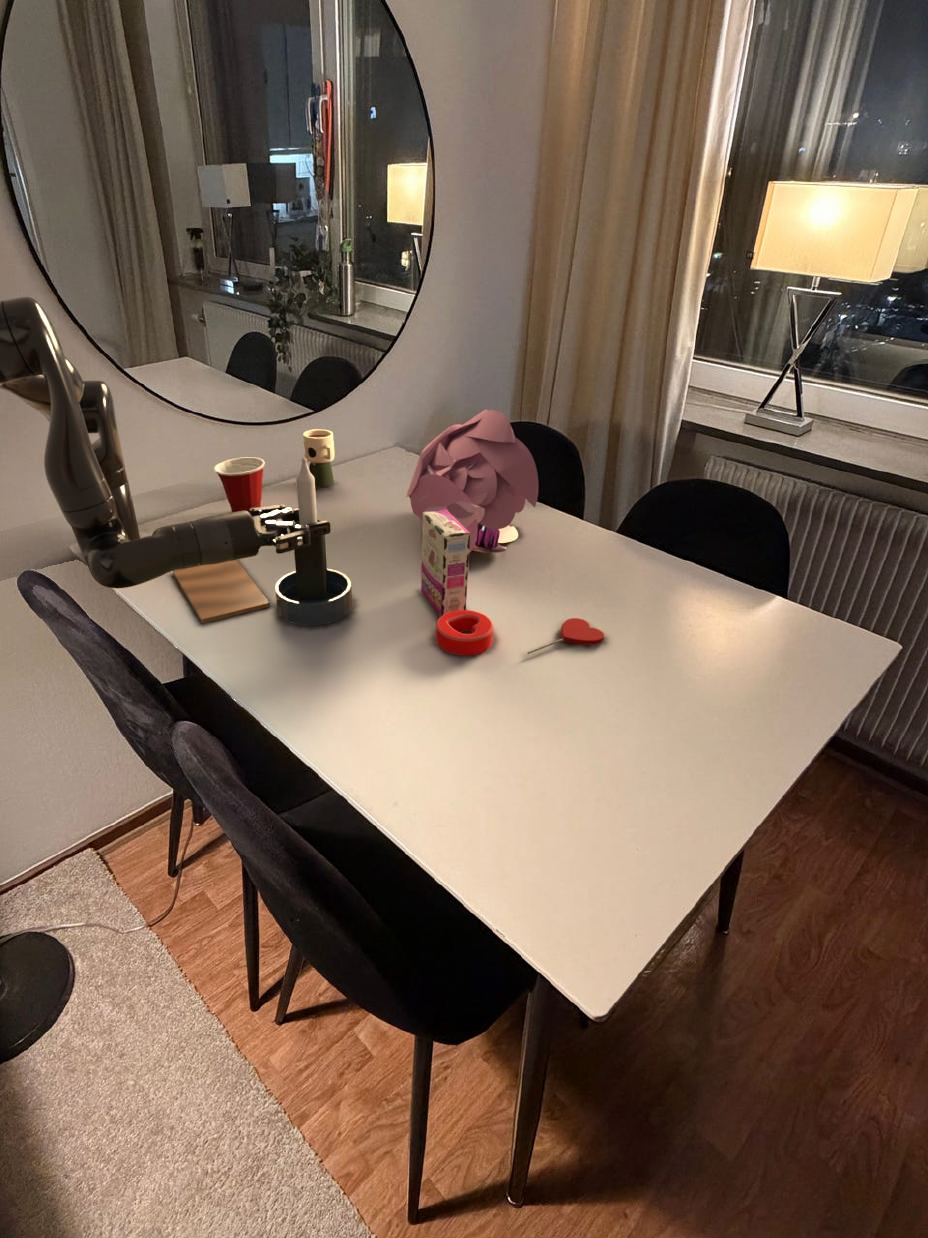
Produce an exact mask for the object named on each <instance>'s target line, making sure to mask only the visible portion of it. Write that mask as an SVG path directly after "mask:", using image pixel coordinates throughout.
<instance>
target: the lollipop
mask: <svg viewBox="0 0 928 1238" xmlns="http://www.w3.org/2000/svg"><path fill="white" fill-rule="evenodd" d="M560 635H561V638H560V639H557V640H554V641H552V642H549V643H547V644H545V645H542V646H539V647H536V648H534V649H532V650H529V651H527V652H526V653H527V655H530V654H532V653H535V652H537V651H539V650H542V649H545V648H547V647H550V646H552V645H555V644H557V643H560V642H566V643H569V644H570V643H571V644H575V645H582V646H583V645H584V646H593V645H599V644H602V642H604V640H605V633H604V632H603V631H602V630H600V629H599V628H596V627H591V626H590V624H589V622H588V621H586V620H585V619H583V618H579V617H572V618H568V619H566V620H564V621H563V623H562V625H561V627H560Z"/></svg>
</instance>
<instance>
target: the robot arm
mask: <svg viewBox="0 0 928 1238" xmlns="http://www.w3.org/2000/svg"><path fill="white" fill-rule="evenodd" d="M0 389H1V390H3V391H6V392H8V393H10V394H12V395H14V396H16V397H17V398H19V399H20V400H21V401H22V402H23V403H25V404H26V405H28V406H29V407H31V408H32V409H34V410H36V411H37V412H39V413H40V414H41V415H42V416H44V418H45V419H46V420H47V421H48V422H49V426H48V433H47V436H46V437H47V438H46V443H45V449H44V457H43V465H44V466H43V468H44V474H45V479H46V481H47V484H48V486H49V488H50V490H51V492H52V494H53V496H54V498H55V500H56V503H57V505H58V507H59V509H60V510H61V513H62V515H63V517H64V519H65V521H66V522H67V523H68V524H69V526H70V527H71V530H72V533H73V535H74V537H75V540H76V542H77V545H78V547H79V550H80V552H81V554H82V556H83V559H84V561H85V563H86V566H87V568H88V571H89V572H90V574H91V576H92V578H93V579H94V580H95V581H96V582H97V583H98V584H99V585H101V586H102V587H105V588H108V589H127V588H131V587H135V586H139V585H142V584H146V583H148V582H150V581H152V580H155V579H157V578H160V577H162V576H164V575H167V574H168V573H171V572H173V571H176V570H182V569H187V568H192V567H197V566H202V565H213V564H219V563H224V562H229V561H233V560H237V561H238V560H242V559H243V560H244V559H247V558H252V557H253V558H254V557H255V556H257V555H259V552H260V549H261V548H262V547H274V548H275V553H276V554H279V555H282V554H285V553H289V552H292V551H294V550H296V549H299V548H303V547H307V546H310V538H312V537H317V536H321V535H325V536H326V535H330V534H331V530H332V529H331V528H332V527H331V523H330V521H329V520H322V521H321V520H320V521H321V522H316V523H311V524H308V525H296V524H295V522H297V521H299V508H292V507H286V505H285V504H275V505H274V504H273V505H267V506H265V505H264V506H261V507H257V508H251V509H249V510H250V513H249V512H248V511H245V510H243V511H238V512H232V511H231V512H227V513H221V514H216V515H211V516H204V517H200V518H197V519H195V520H191V521H187V522H186V521H185V522H182V523H174V524H170V525H165V526H161V527H158V528H156V529H155V530H154V531H153V532H152V534H151V535H148V536H144V537H141V535H140V529H139V524H138V519H137V516H136V510H135V507H134V502H133V496H132V492H131V487H130V482H129V479H128V474H127V469H126V463H125V459H124V456H123V450H122V446H121V441H120V436H119V430H118V423H117V417H116V410H115V404H114V399H113V395H112V392H111V389H110V387H109V386H108V384H107V383H106V382H104V381H103V380H83V378H82V376H81V374H80V372H79V371H78V369H77V368H76V366H74V364H73V363H72V362H71V361H70V360H69V359H68V358H67V357H66V356H65V354H64V350H63V348H62V345H61V342H60V339H59V336H58V335H57V332H56V330H55V327H54V325H53V323H52V321H51V320H50V317H49V316H48V314H47V312H46V310H45V309H44V308H43V306H42V305H41V304H40V303H39V302H38V301H37V300H36V299H34V298H33V297H30V296H21V297H15V298H9V299H4V300H0ZM89 434H90V435H91V434H92V435H93V434H98V436H99V438H98V439H96V440H95V441H94V442H91V438H90V435H89ZM288 530H289V531H288ZM295 530H301V531H298V532H295ZM288 532H289V533H288ZM297 541H302V542H297Z"/></svg>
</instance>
